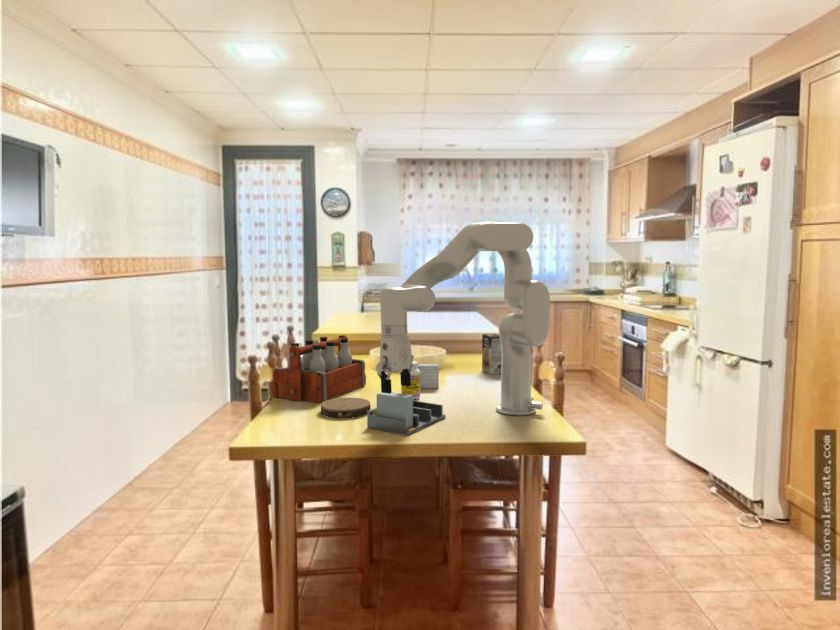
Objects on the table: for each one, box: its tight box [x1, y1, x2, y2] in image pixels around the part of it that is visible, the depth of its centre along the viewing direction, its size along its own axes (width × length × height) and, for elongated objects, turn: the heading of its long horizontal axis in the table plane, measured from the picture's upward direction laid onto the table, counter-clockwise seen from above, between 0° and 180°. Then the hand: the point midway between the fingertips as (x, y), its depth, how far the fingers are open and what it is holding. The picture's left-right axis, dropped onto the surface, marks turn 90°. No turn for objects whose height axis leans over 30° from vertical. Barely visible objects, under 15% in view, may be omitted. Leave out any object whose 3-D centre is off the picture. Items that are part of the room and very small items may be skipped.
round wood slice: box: [320, 397, 371, 419], centre depth 187 cm, size 16×16×3 cm
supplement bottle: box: [400, 360, 421, 400], centre depth 204 cm, size 7×7×13 cm
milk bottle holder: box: [271, 334, 367, 404], centre depth 215 cm, size 21×35×19 cm, turn 155°
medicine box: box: [417, 363, 440, 389], centre depth 222 cm, size 8×4×9 cm, turn 92°
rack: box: [366, 400, 446, 437], centre depth 174 cm, size 14×21×5 cm, turn 147°
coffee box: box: [481, 333, 502, 375], centre depth 251 cm, size 9×6×16 cm
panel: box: [376, 391, 413, 429], centre depth 169 cm, size 10×4×9 cm, turn 58°
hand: (396, 389), depth 168 cm, fingers open, 9 cm apart
